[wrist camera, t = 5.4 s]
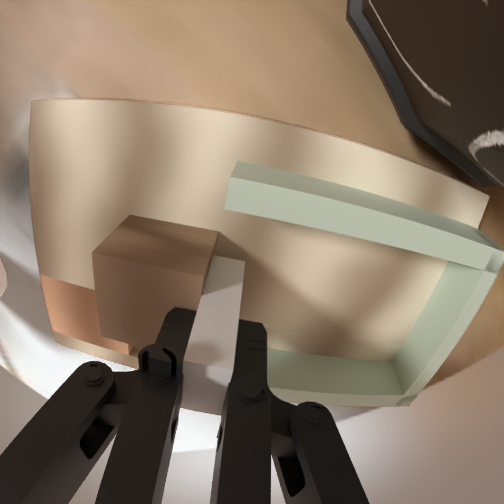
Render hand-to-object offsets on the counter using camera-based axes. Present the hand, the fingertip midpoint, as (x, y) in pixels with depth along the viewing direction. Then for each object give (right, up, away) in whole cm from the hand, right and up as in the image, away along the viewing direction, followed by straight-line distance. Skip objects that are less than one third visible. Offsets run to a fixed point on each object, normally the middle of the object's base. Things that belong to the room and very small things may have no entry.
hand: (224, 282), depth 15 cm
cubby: (+6, -1, +1) cm, 6 cm away
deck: (0, 0, +3) cm, 3 cm away
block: (-3, +1, +1) cm, 3 cm away
